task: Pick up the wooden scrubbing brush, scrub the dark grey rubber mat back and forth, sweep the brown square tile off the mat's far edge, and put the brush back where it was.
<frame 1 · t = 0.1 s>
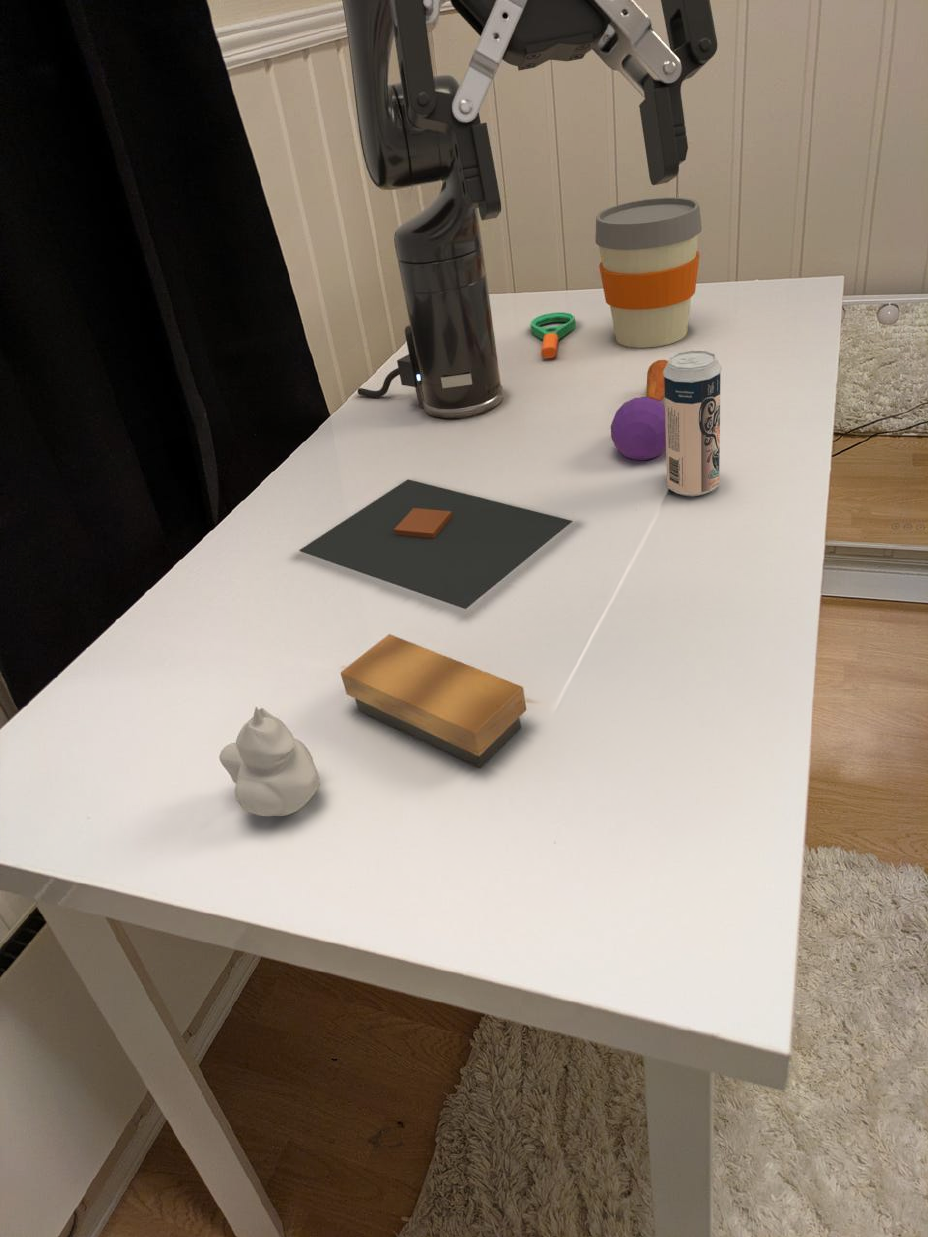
hand: (578, 198, 43), 31 cm above the table, tool tilted 20°, fingers open, 8 cm apart
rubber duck: (280, 800, 58), on the table
maraca: (652, 428, 94), on the table
brown square tile: (423, 525, 83), point 1 cm above the table, touching mat
mat: (434, 541, 82), on the table
beer can: (693, 488, 83), on the table
brush: (437, 718, 62), on the table
reusable coffee cup: (651, 336, 117), on the table
toy tennis racket: (552, 341, 121), on the table
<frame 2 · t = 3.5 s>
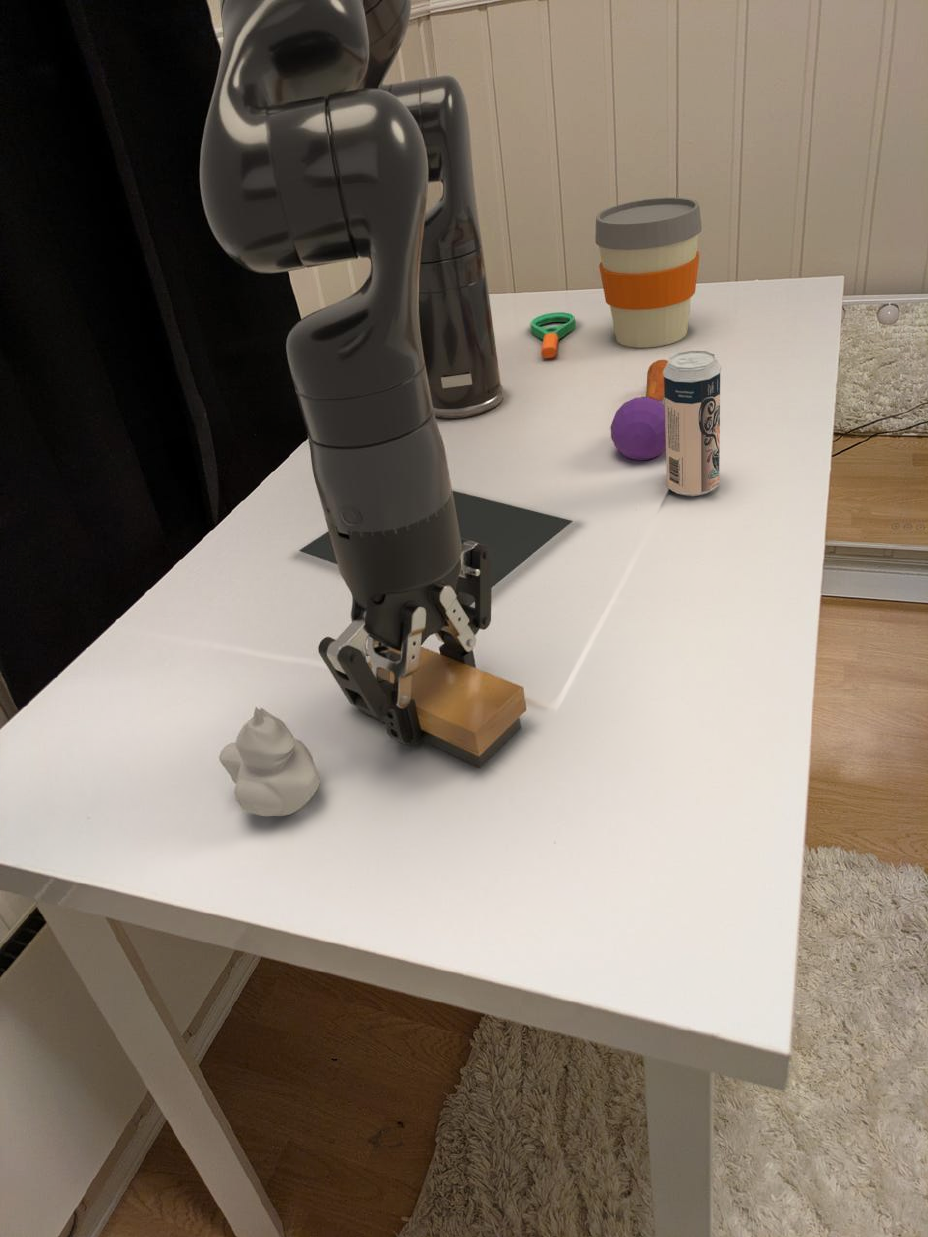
hand: (435, 714, 62), 0 cm above the table, tool pointing down, fingers closed on brush, 5 cm apart
brush: (437, 718, 62), on the table, touching gripper
everything else where it was.
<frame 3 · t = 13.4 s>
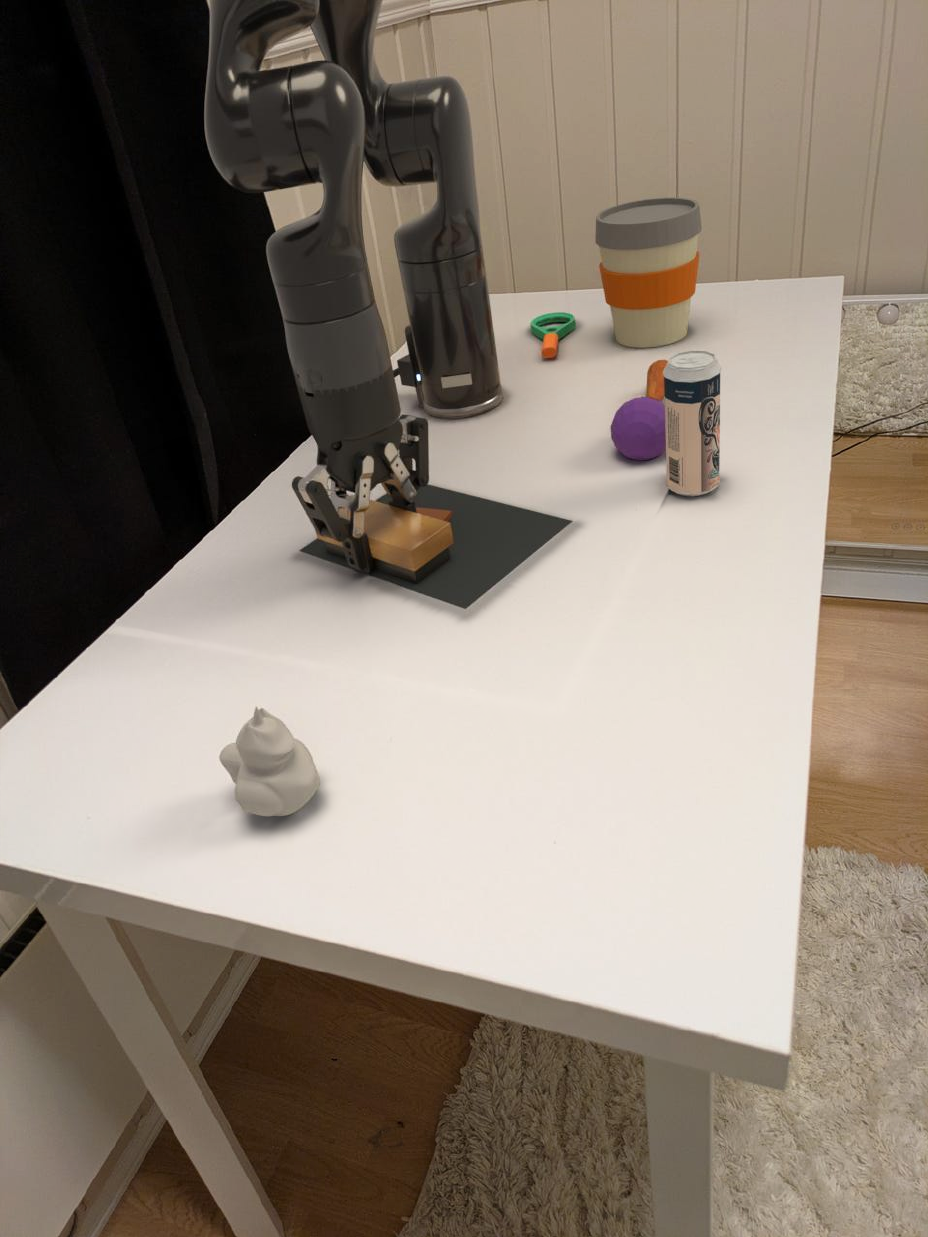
hand: (386, 553, 80), 1 cm above the table, tool pointing down, fingers closed on brush, 5 cm apart
brown square tile: (423, 525, 83), point 1 cm above the table, touching gripper, mat
brush: (387, 555, 80), point 1 cm above the table, touching gripper
everything else where it was.
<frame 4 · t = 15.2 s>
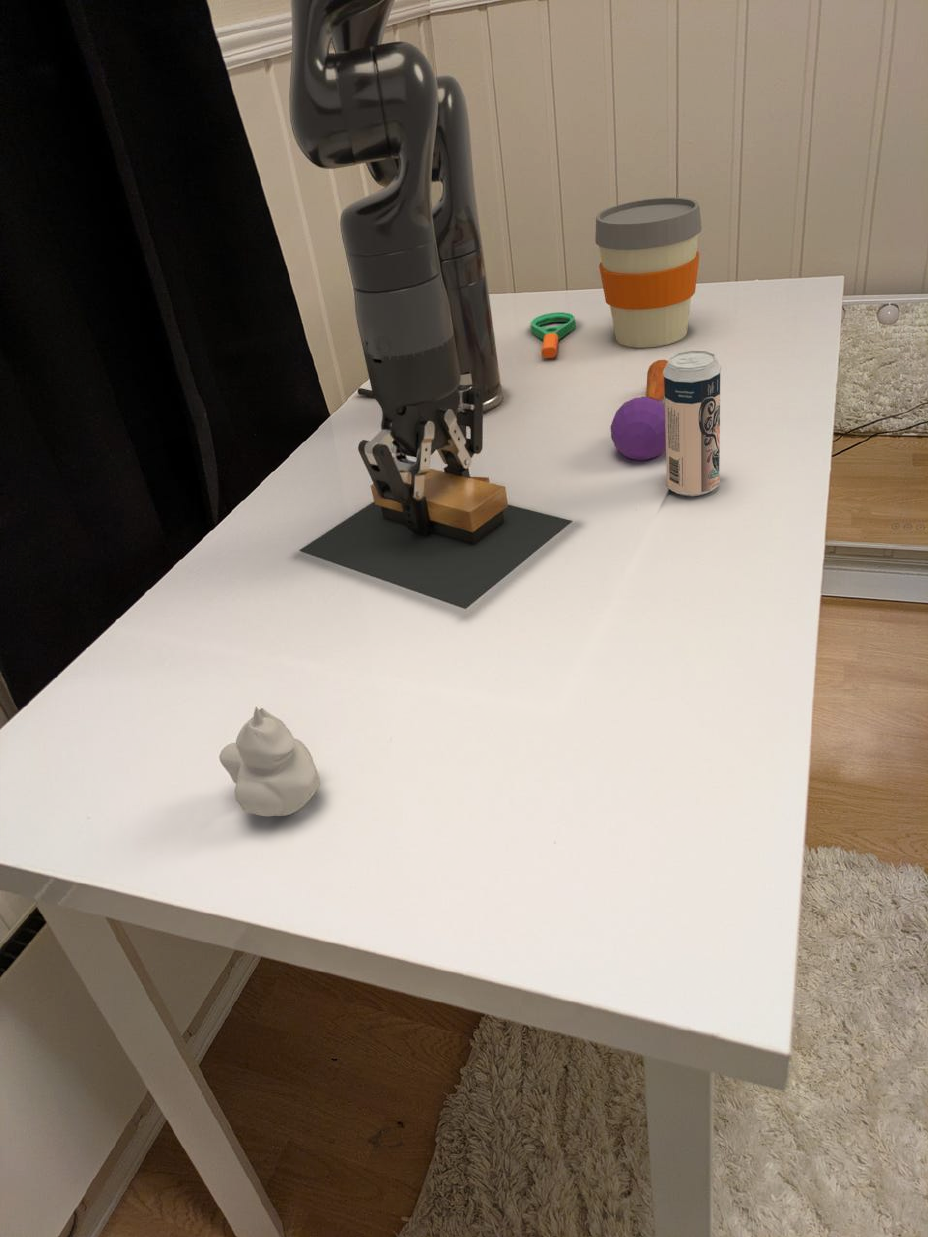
hand: (441, 517, 83), 1 cm above the table, tool pointing down, fingers closed on brush, 5 cm apart
brown square tile: (463, 491, 88), point 1 cm above the table, touching gripper
brush: (442, 519, 83), point 1 cm above the table, touching gripper
everything else where it was.
when the fingers open (0 cm above the table, at t = 24.2 s): brush stays where it is, on the table.
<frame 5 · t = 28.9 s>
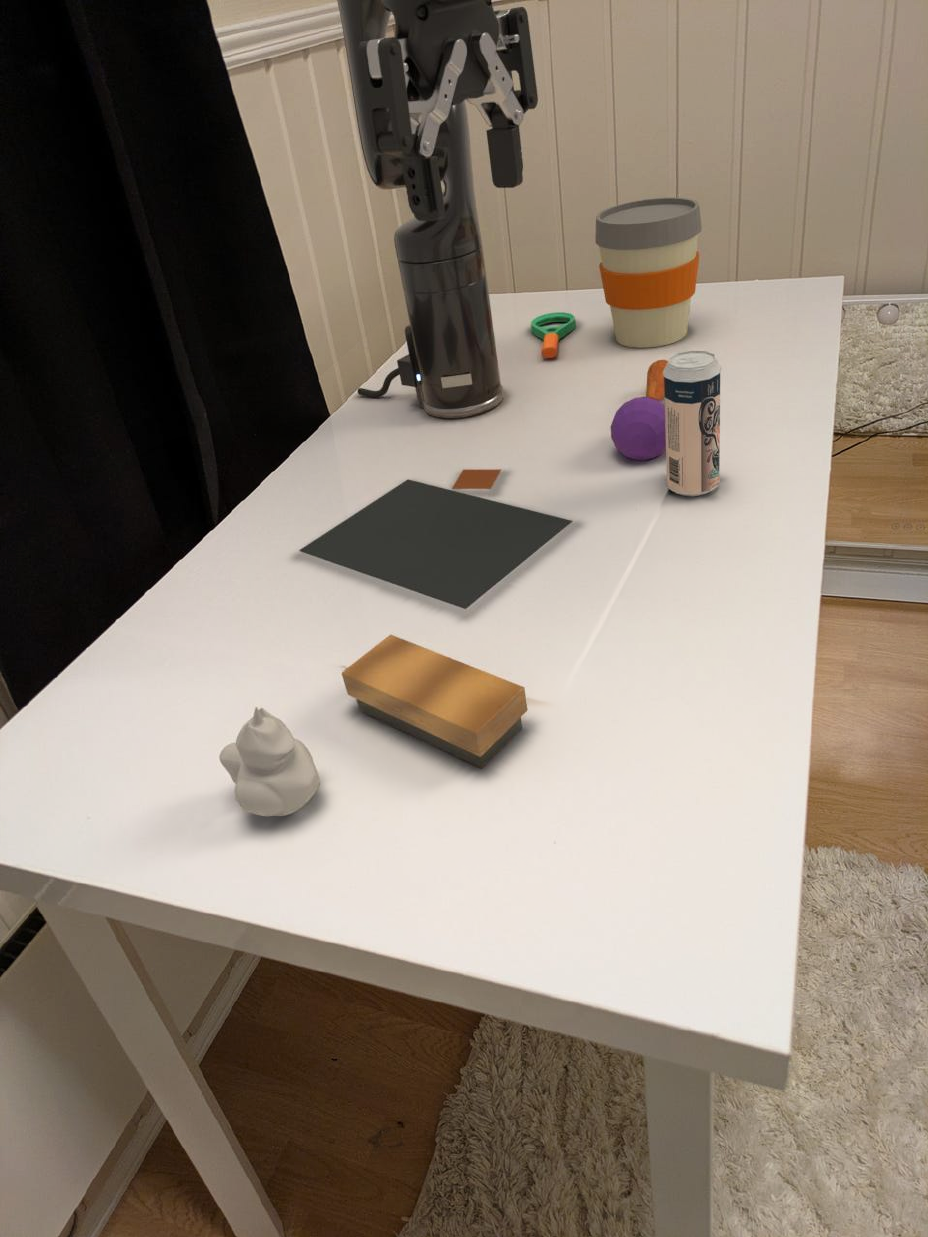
hand: (470, 202, 62), 28 cm above the table, tool pointing down, fingers open, 8 cm apart
brown square tile: (477, 484, 90), on the table
brush: (438, 719, 62), on the table
everything else where it was.
at the end: brown square tile inside the target area (6.3 cm from its centre), on the table; brush inside the target area (0.1 cm from its centre), on the table; the gripper is holding nothing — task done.
